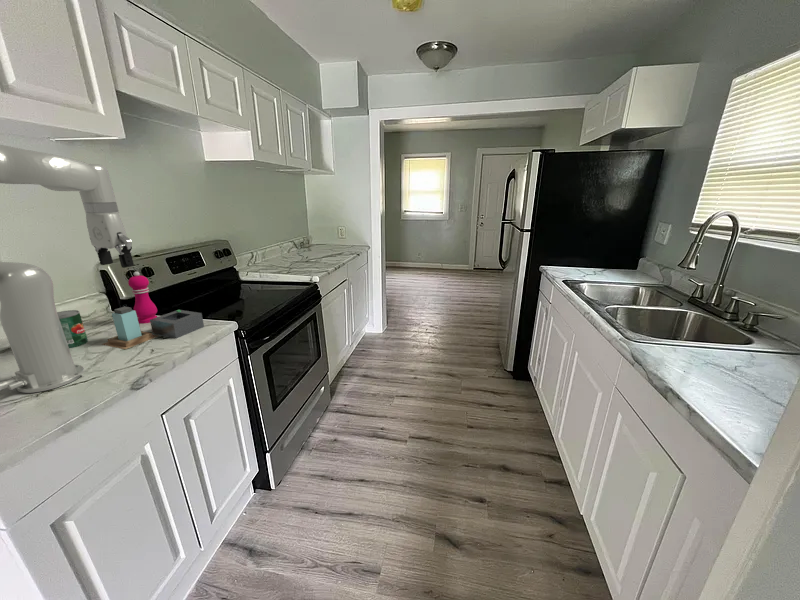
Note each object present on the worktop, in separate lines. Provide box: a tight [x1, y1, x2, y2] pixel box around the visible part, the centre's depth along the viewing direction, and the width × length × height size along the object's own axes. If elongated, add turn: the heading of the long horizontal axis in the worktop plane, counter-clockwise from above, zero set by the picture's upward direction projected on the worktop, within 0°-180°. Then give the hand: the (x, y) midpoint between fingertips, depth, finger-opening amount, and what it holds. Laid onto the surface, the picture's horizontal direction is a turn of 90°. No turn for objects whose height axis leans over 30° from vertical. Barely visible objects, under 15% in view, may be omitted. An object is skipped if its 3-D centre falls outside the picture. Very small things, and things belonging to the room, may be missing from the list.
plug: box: [111, 306, 142, 341], centre depth 108 cm, size 4×4×11 cm
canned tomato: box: [57, 309, 89, 349], centre depth 104 cm, size 8×8×11 cm
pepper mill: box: [127, 271, 158, 325], centre depth 123 cm, size 7×7×20 cm
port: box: [149, 309, 205, 339], centre depth 117 cm, size 11×11×6 cm
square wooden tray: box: [101, 330, 159, 350], centre depth 109 cm, size 11×11×2 cm
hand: (117, 265), depth 102 cm, fingers open, 9 cm apart
